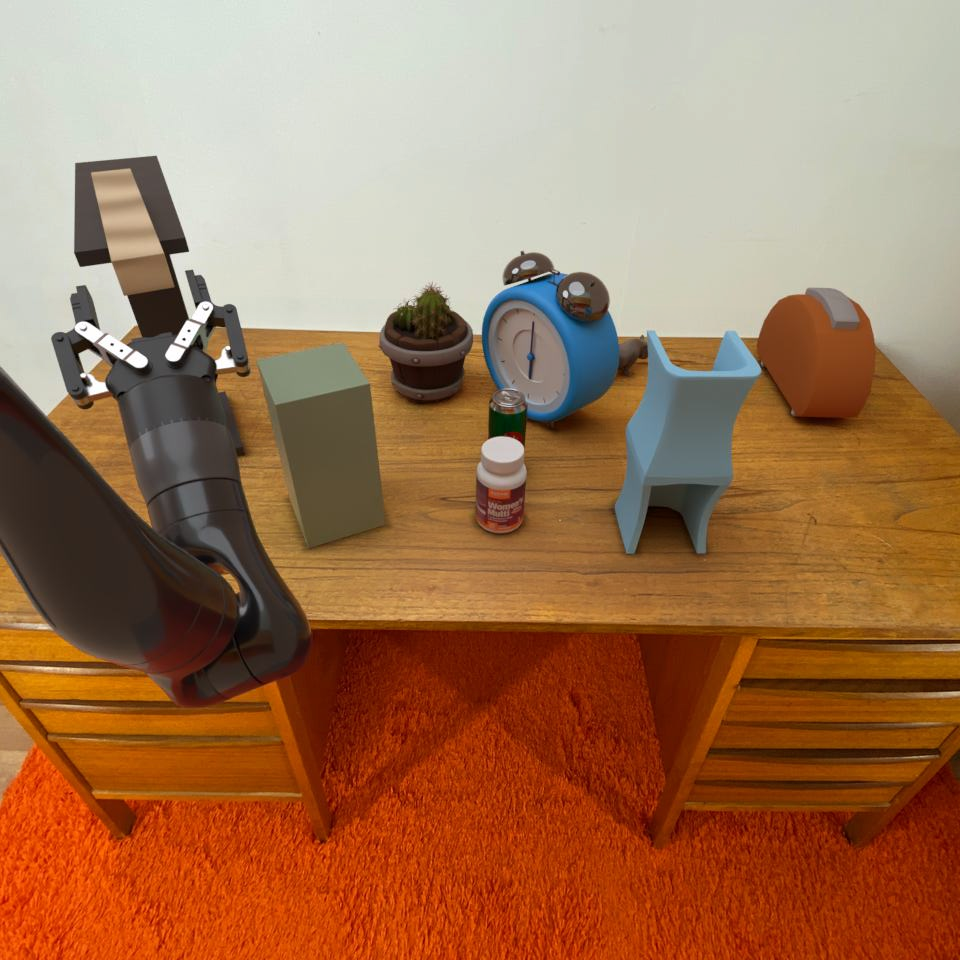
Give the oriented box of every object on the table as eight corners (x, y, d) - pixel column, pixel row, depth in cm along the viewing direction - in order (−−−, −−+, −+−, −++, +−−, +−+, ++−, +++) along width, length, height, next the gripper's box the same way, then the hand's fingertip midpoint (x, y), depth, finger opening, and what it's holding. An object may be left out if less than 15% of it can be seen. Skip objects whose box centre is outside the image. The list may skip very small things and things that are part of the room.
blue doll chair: (684, 499, 86) (735, 329, 70) (706, 553, 78) (768, 377, 62) (611, 500, 86) (646, 329, 69) (626, 554, 78) (668, 376, 62)
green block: (386, 524, 81) (370, 383, 68) (308, 548, 78) (274, 404, 64) (362, 478, 88) (343, 341, 75) (289, 499, 85) (255, 359, 71)
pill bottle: (487, 540, 79) (489, 470, 72) (468, 509, 84) (468, 440, 76) (531, 527, 81) (537, 458, 74) (511, 497, 86) (515, 429, 78)
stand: (257, 492, 86) (185, 237, 64) (178, 513, 82) (73, 252, 60) (219, 372, 109) (156, 155, 87) (156, 385, 106) (74, 162, 84)
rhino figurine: (660, 365, 113) (667, 334, 109) (601, 387, 107) (606, 356, 103) (643, 355, 115) (649, 325, 112) (585, 377, 110) (590, 345, 106)
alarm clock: (478, 391, 106) (480, 250, 91) (520, 371, 111) (529, 235, 95) (568, 448, 94) (588, 298, 79) (611, 424, 99) (637, 278, 84)
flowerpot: (377, 371, 110) (365, 257, 97) (463, 361, 113) (463, 249, 100) (389, 418, 99) (377, 297, 86) (484, 406, 102) (486, 286, 89)
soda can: (496, 454, 93) (499, 383, 85) (528, 463, 91) (534, 392, 83) (481, 473, 89) (482, 401, 82) (514, 484, 88) (518, 412, 80)
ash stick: (174, 287, 55) (163, 252, 53) (123, 296, 53) (111, 261, 51) (139, 196, 73) (130, 168, 71) (100, 200, 72) (90, 172, 70)
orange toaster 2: (854, 431, 98) (902, 332, 88) (796, 429, 99) (837, 330, 88) (799, 355, 116) (834, 265, 106) (750, 354, 116) (779, 264, 106)
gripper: (269, 405, 50) (217, 241, 54) (66, 450, 45) (26, 267, 50) (275, 444, 57) (228, 296, 61) (99, 487, 52) (61, 323, 56)
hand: (138, 283), depth 55 cm, fingers open, 8 cm apart
